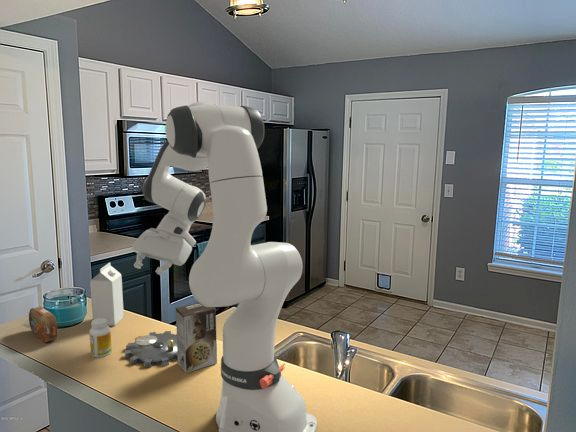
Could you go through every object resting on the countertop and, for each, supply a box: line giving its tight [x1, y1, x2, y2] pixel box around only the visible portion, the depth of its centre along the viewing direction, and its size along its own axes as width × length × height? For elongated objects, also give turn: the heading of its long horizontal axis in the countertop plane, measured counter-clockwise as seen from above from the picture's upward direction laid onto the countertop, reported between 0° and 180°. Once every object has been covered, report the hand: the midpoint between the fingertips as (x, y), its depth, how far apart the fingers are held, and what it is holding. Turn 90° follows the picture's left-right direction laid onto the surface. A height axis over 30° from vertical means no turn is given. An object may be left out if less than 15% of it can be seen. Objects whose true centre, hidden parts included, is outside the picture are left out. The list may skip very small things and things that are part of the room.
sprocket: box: [124, 330, 178, 368], centre depth 124 cm, size 18×18×4 cm
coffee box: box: [175, 302, 218, 374], centre depth 116 cm, size 9×6×16 cm
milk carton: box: [89, 262, 125, 327], centre depth 140 cm, size 7×7×19 cm
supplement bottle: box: [89, 318, 112, 358], centre depth 121 cm, size 5×5×10 cm
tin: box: [28, 306, 58, 343], centre depth 130 cm, size 15×3×8 cm, turn 50°
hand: (147, 270), depth 129 cm, fingers open, 8 cm apart
